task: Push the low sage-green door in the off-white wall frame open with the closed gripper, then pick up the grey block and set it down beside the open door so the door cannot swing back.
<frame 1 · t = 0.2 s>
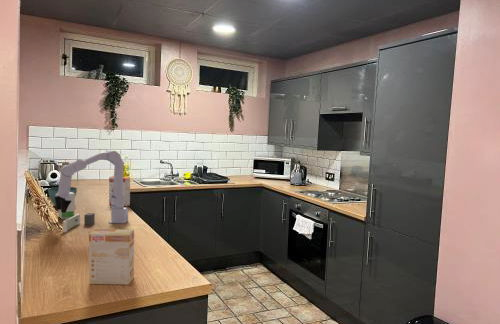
hand: (60, 211, 205), 10 cm above the worktop, tool pointing down, fingers open, 7 cm apart
plant pot: (62, 206, 262), on the worktop
wall frame: (66, 230, 203), on the worktop
skincare box: (66, 217, 231), on the worktop
coffeecake box: (112, 281, 142), on the worktop
door: (73, 222, 209), point 3 cm above the worktop, hinge at 0.0°
cracker box: (119, 205, 270), on the worktop
grey block: (89, 224, 218), on the worktop
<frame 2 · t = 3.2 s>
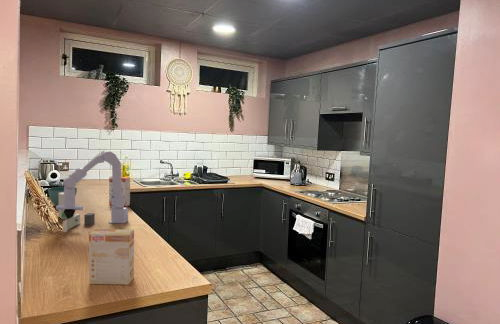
hand: (69, 222, 210), 3 cm above the worktop, tool pointing down, fingers closed
door: (73, 222, 209), point 3 cm above the worktop, hinge at 0.2°, touching gripper
everything else where it was.
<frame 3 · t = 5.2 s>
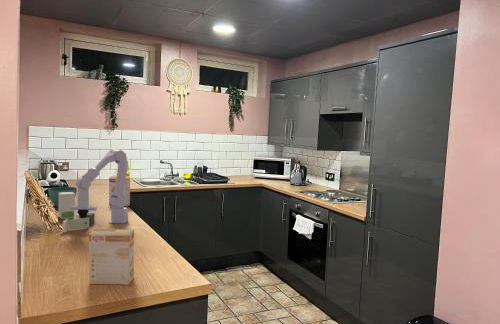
hand: (83, 222, 210), 3 cm above the worktop, tool pointing down, fingers closed
door: (79, 223, 206), point 3 cm above the worktop, hinge at 56.4°, touching gripper
everything else where it was.
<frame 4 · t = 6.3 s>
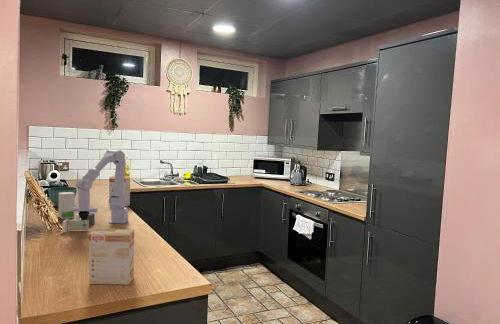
hand: (84, 224, 207), 3 cm above the worktop, tool pointing down, fingers closed, pressing on door
door: (78, 225, 203), point 3 cm above the worktop, hinge at 82.2°, touching gripper
everything else where it was.
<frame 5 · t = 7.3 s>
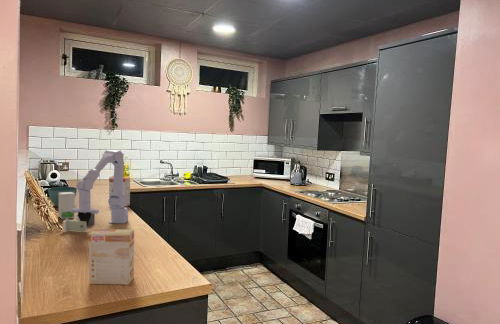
hand: (84, 225, 204), 3 cm above the worktop, tool pointing down, fingers closed
door: (76, 226, 202), point 3 cm above the worktop, hinge at 98.8°, touching gripper
everything else where it was.
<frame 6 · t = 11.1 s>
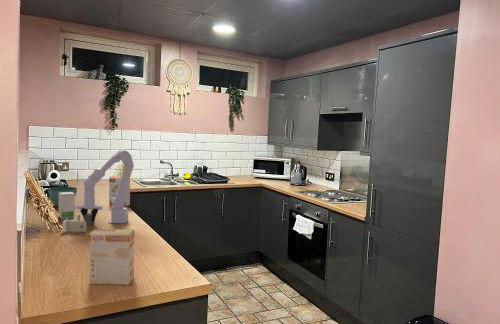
hand: (89, 221, 218), 2 cm above the worktop, tool pointing down, fingers closed on grey block, 4 cm apart
door: (76, 226, 202), point 3 cm above the worktop, hinge at 98.8°
grey block: (89, 224, 218), on the worktop, touching gripper
everything else where it was.
when the fingers open (3 cm above the worktop, at t = 14.6 s): grey block stays where it is, on the worktop.
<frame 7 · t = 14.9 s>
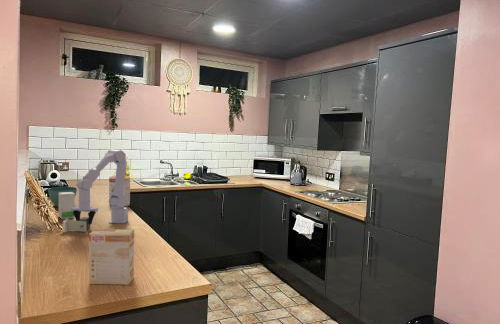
hand: (84, 224, 208), 3 cm above the worktop, tool pointing down, fingers open, 6 cm apart
grey block: (84, 228, 209), on the worktop
everything else where it was.
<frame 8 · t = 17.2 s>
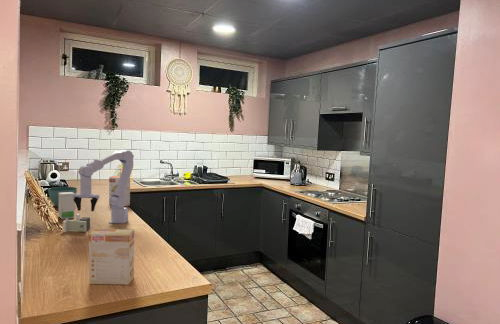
hand: (86, 210, 209), 10 cm above the worktop, tool pointing down, fingers open, 7 cm apart
nothing on the worktop moved.
at the end: door at +99° (first picture: +0°); grey block inside the target area (0.3 cm from its centre), on the worktop; grey block tilted 0° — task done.
